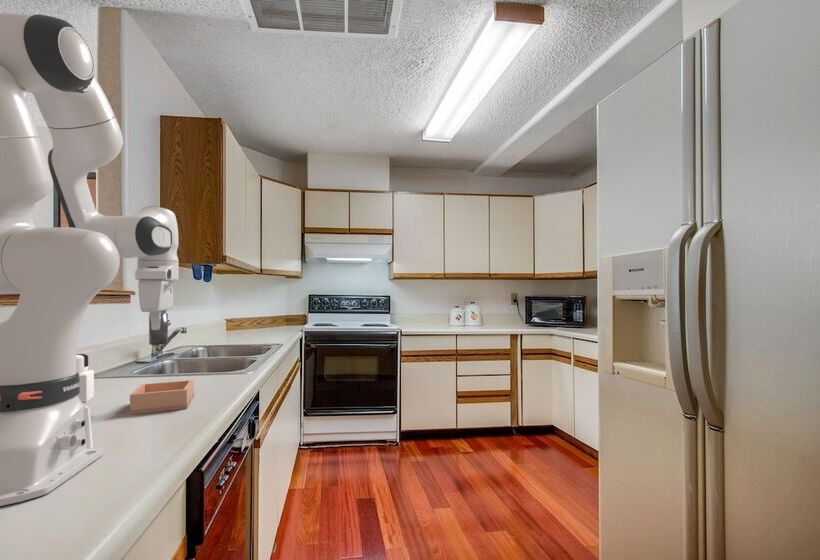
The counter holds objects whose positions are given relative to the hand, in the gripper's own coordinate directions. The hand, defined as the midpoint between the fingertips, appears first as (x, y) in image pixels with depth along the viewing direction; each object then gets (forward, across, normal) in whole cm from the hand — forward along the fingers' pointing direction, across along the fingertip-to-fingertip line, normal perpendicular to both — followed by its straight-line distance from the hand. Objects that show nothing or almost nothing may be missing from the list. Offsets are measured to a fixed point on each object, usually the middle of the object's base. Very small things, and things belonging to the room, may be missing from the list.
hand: (158, 329), depth 104 cm
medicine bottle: (+19, -13, -22) cm, 32 cm away
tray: (+19, +1, +1) cm, 19 cm away
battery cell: (+4, 0, 0) cm, 4 cm away
